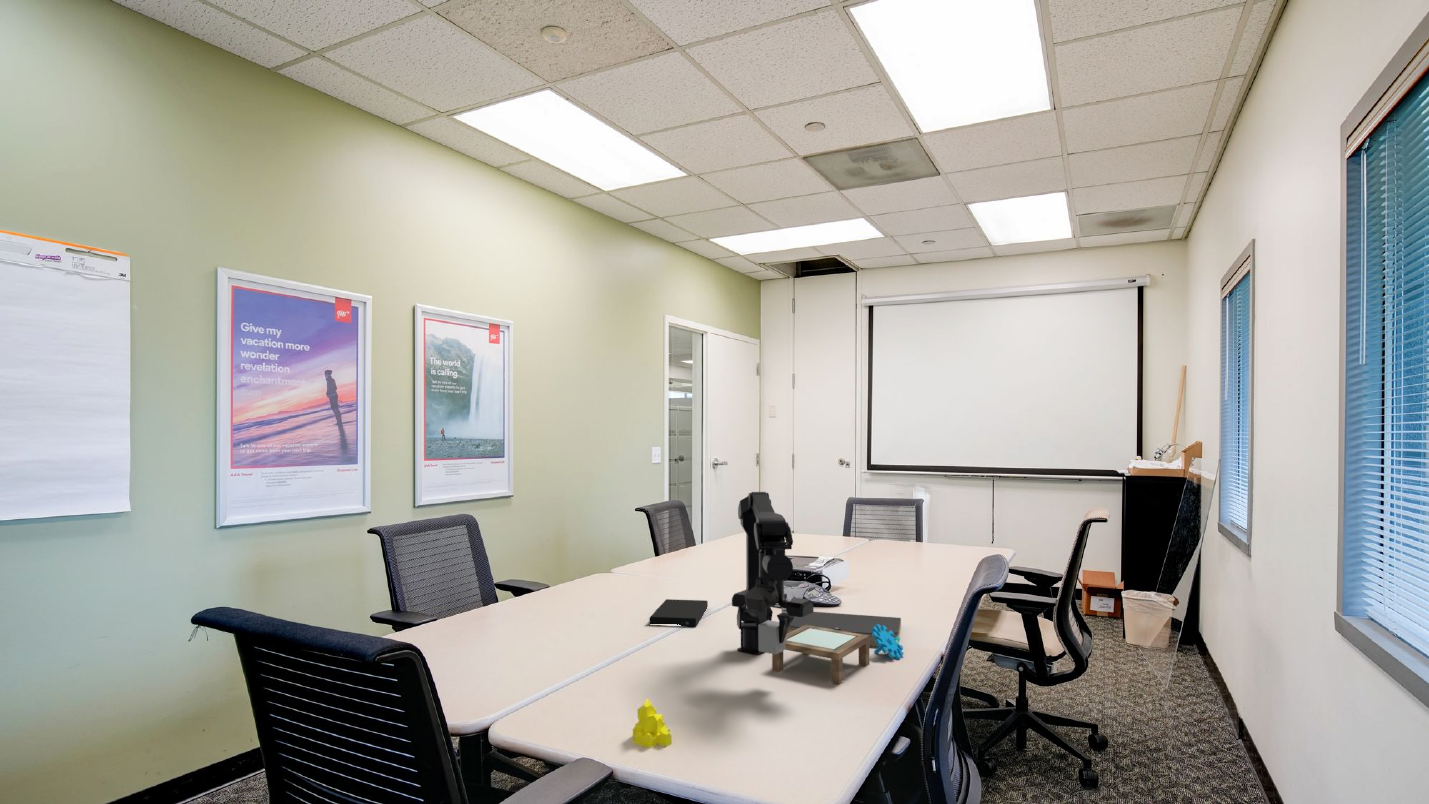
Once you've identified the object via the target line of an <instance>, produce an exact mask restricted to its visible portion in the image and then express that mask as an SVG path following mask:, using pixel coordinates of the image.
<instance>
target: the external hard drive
mask: <svg viewBox="0 0 1429 804" xmlns="http://www.w3.org/2000/svg"><path fill="white" fill-rule="evenodd" d="M708 602H709V601H708V600H702V599H700V600H699V599H695V600H694V599H668V598H666V599H665V600H664V601H663V602H662V603H661V605H660V606H659V607H658V608H657V609H656V610H655V611H654V612H653V613H652V614H651V615H650V616H649V625H650V624H677V625H678V624H679V625H681V626H687V627H686V628H697V626H698V625H699V623H700V622H701V620H702V619H703V617H704V615H705V614H704V612H705V611H706V609H707V607H708V604H709V603H708ZM708 608H709V607H708ZM707 610H708V609H707ZM706 612H707V611H706ZM706 612H705V613H706ZM703 614H704V615H703ZM702 616H703V617H702ZM699 621H700V622H699Z"/></svg>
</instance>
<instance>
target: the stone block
mask: <svg viewBox="0 0 1429 804" xmlns="http://www.w3.org/2000/svg"><path fill="white" fill-rule="evenodd" d="M758 638H759V651H760V652H762V653H767V654H771V655H772V654H775V655H776V654H778V653H780V652H782V651H783V652H784V651H787V650H786V643H785V639H784V642H783V643H779V621H776V620H771V621H770V620H768V621H765V622H763V623H761V624H758Z"/></svg>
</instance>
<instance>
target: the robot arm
mask: <svg viewBox="0 0 1429 804" xmlns="http://www.w3.org/2000/svg"><path fill="white" fill-rule="evenodd" d="M737 515H738V519H739V520H740V521H739V522H740V526H741V527H742V529H743V531H744V532H745V534H746V535H745V536H746V537H745V539H746V541H745V543H746V546H745V547H746V550H745V551H746V552H745V553H746V559H745V561H746V566H745V568H746V569H745V570H746V571H745V573H746V575H745V576H746V585H745V586H746V588H745V590H741V591H739V592H735V593H734V594H733V595H732V597H731V606H732V607H735V608H737V613H736V626H737V628H738V629H739V630H740V647H738V648H737V651H738V652H743V653H747V654H752V655H760V654H762V653H763V652H760V651H759V638H758V624H761V623H763V622H765V621H768V620H770V621H773V620H772V619H773V613H774V612H773V609H774V608H775V609H781V613H780V612H779V613H778V614H777V615H776V617H777V620H778V622H779V643H783V642H784V639H785V637H786V634H787V632H788V629H789V627H790V625H791V623H792V621H793V619H794V617H795V616H796V617H804V616H806V615H808V614H811V613H813V612H814V603H813V602H812V600H811V599H807V598H802V597H801V598H800V597H796V598H794V599H791V600H786V599H787V598H788V594H787V593H785V582H787V581H788V578H790V577H791V576H792V574H793V571H794V565H793V562H792V560H791V559H790V557H788V555H786V550H792V548H793V547H792V546H793V544H794V540H793V535H792V530H791V527H790V526H789V525H790V524H789V522H787V521H786V518H785V517H784V516H783V515H782V514H780V513H777V512H775V509H774V508H773V506H772V500H771V499H770V495H769V492H766V491H751V492H749V493H748V495H747V496H746V497H744V498H743V499H740V500H739V503H738V507H737ZM772 608H773V609H772Z"/></svg>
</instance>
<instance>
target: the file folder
mask: <svg viewBox="0 0 1429 804" xmlns="http://www.w3.org/2000/svg"><path fill="white" fill-rule="evenodd" d="M901 619H902V618H901V617H894V616H893V617H892V616H882V615H881V616H876V615H868V614H867V615H864V614H854V613H853V614H849V613H837V612H822V611H813V613H811V614H808V615H806V616H804V617H796V616H795V617H794V619H793V621H792V623H791V625H790V627H789V629H788V632H787V634H788V633H790V632H792V631H794V630H796V629H798V628H800V627H802V626H804V625H810V626H816V627H822V628H827V629H833V630H839V631H845V632H851V633H857V634H863V635H869V647H875V646H878V645H877V644H876V642H875V641H876V640H877V639H876V638H874V637H873V636H872V634H873V633H874V632H873V631H872V628H873V627H875V625H877V624H879V625H880V626H881V627H882V626H883V625H884V626H885V627H886V628H887V629H886V630H885V631H886V632H887V633H888V632H889V631H890V630H891V631H892V632H893V633H894V634H893V635H892V637H894V638H896V637H897V636H899V637H901V636H900V634H901V629H902V627H901V626H902V620H901ZM881 630H882V629H881ZM879 646H880V645H879Z"/></svg>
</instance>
